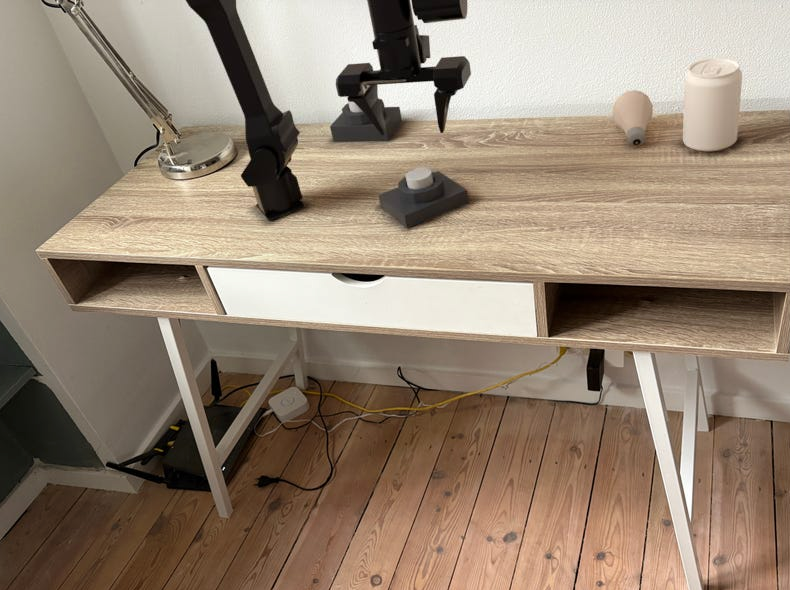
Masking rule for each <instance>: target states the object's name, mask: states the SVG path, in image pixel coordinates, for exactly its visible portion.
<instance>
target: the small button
mask: <svg viewBox="0 0 790 590" xmlns="http://www.w3.org/2000/svg"><path fill="white" fill-rule="evenodd" d="M432 172H433V171H432V169H430V168H428V167H416V168H413V169H411V170H409V171H408V172H406V174H405V177H406V180H407V185H408V188H409V189H423V188H426V187H429V186H431V185H432V184H433V176H432Z"/></svg>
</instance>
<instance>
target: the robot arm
mask: <svg viewBox="0 0 790 590" xmlns="http://www.w3.org/2000/svg"><path fill="white" fill-rule="evenodd" d="M185 2H186V3H187V5H188V7H189V8H190V9H191V10H192V11H193V12H195V14H196V15H197V16H198V17H199V18H200V19H201V20H202V21H203V22H204V23H205V25H206V27H207V30H208V32H209V35H210V37H211V39H212V42H213V44H214V46H215V48H216V52H217V53H218V56H219V58H220V61H221V63H222V66H223V68H224V70H225V73H226V76H227V78H228V80H229V82H230V85H231V87H232V89H233V93H235V97H236V99H237V102H238V104H239V106H240V109H241V111H242V113H243V116H244V133H245V136H244V137H245V143H246V148H247V152H248V155H249V159H250V160H249V162H248V163H247V165H246V166H245V168H244V170H243V171H242V172H241V174H240V178H241V180H243V182H244V183H245V184H246V186H247V187H249V188H252V190H253V194H254V196H255V200H256V203H257V204H255V208H256V209H257V210H258V212H260V214H261V215H262V216H263V217H264V218H265V219H266V220H267V221H268V222H269V221H273V220H275V219H278V218H281V217H284V216H286V215H288V214H291V213H294V212H296V211H299V210H301V209H304V208H305V207H306V206H305V203H304V202H303V201H302V200H303V195H302V191H301V187H300V184H299V181H298V177H297V176H296V175H295V174H294V173H293V172H292V169H291V168H290V167H289V166H288V165H289V163H290V162H291V161H292V156H293V154H294V153H295V151H296V150H297V148H298V145H299V138H298V137H299V135H300V134H301V132H300V130H299V129H298V128H297V126H296V124H295V122H294V118H293V114H292V111H291V110H289V109H288V110H286V111H284V112H283V111H281V110H280V109H279V108H278V106H276V105H275V103H274V102H273V100H272V97H271V94H270V92H269V90H268V88H267V84H266V81H265V79H264V77H263V74H262V72H261V69H260V66H259V64H258V60H257V58H256V56H255V54H254V50H253V48H252V46H251V43H250V41H249V38H248V36H247V33H246V30H245V28H244V25H243V23H242V20H241V18H240V15H239V13H238V12H239V11H238V9H237V0H185ZM366 2H367V7H368V11H369V17H370V21H371V26H372V32H373V37H374V39H373V41H372V48H373V50H376V52H377V57H378V62H379V67H380V69H378V70H374V68H373V65H372V64H371V63H370V62H362V63H348V64H347V65H346V66H345V67H344V69H343V70H341V72H340V73H339V74H338V76H337V77H336V79H335V87H336V88H335V89H336V92H337V96H338V97H340V98H346V99H347V102H348V101H349V102H354V103H355V104H356V105H357V106H358V107H359V108H360V109H361V110H362V111H363V112H364V113H365V114H366V116H367V117H368V118H369V119H370V121H371V122H372V123H373V125H374V126H375V127H376V129H377V130H378V131H379V133H380V134H381V135H382V136H384V135H385V134H386V129H385V122H384V118H383V114H382V111H381V107H380V103H379V99H380V98H379V93H378V92H379V91H378V87H379V86H378V85H392V84H395V85H396V84H409V83H425V82H427V83H428V82H433V87H434V88H436V90H435V92H433V97H434V99H433V100H434V105H435V113H436V120H437V126H438V129H439V133H440V134H444V132H445V130H446V124H447V120H448V113H449V107H450V102H451V99H452V97H453V96H455V95H456V94H457V93H458V91H460V90H463V89H464V88H465V86H466V85H467V83H468V80H469V79H470V77H471V75H472V70H471V62H470V61H469V60H468V58H467V57H466V56H465V55H459V56H446V57H440V59H439V61H438V62H437V64H436V65H435V66H423V67H422V64H426V62H427V59H431V45H430V42H431V41H430V35H425V34H419V33H420V32H419V28H418V25H417V24H415V21H414V16H415V17H416V18H417V20H418V21H422V23H423V24H431V23H441V22H451V21H460V20H466V19H467V17H468V0H366ZM413 14H414V15H413ZM378 98H379V99H378Z"/></svg>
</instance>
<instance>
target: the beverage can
mask: <svg viewBox="0 0 790 590" xmlns="http://www.w3.org/2000/svg"><path fill="white" fill-rule="evenodd" d="M742 83H743V71H742V70H741V69H740V64H739V62H738V61H736V60H734V59H731V58H725V57H711V58H704V59H700V60H697V61H695V62H693V63H691V64H690V65H689V67H688V71H687V72H686V74H685V77H684V88H683V89H684V92H683V94H684V95H683V118H682V121H683V122H682V142H683V144H684V145H685V146H686V147H688V148H690V149H692V150H695V151H699V152H707V153H708V152H718V151H722V150H724V149H726V148H730V147H731V146H733V145H734V144H735V143H736V142H737V140H738V132H739V123H740V121H739V120H740V109H741V96H742V95H741V94H742Z"/></svg>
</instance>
